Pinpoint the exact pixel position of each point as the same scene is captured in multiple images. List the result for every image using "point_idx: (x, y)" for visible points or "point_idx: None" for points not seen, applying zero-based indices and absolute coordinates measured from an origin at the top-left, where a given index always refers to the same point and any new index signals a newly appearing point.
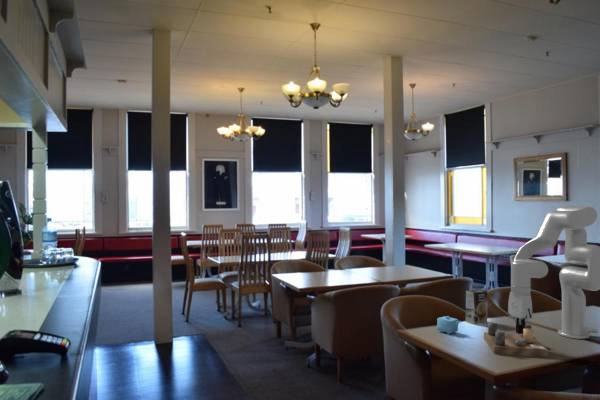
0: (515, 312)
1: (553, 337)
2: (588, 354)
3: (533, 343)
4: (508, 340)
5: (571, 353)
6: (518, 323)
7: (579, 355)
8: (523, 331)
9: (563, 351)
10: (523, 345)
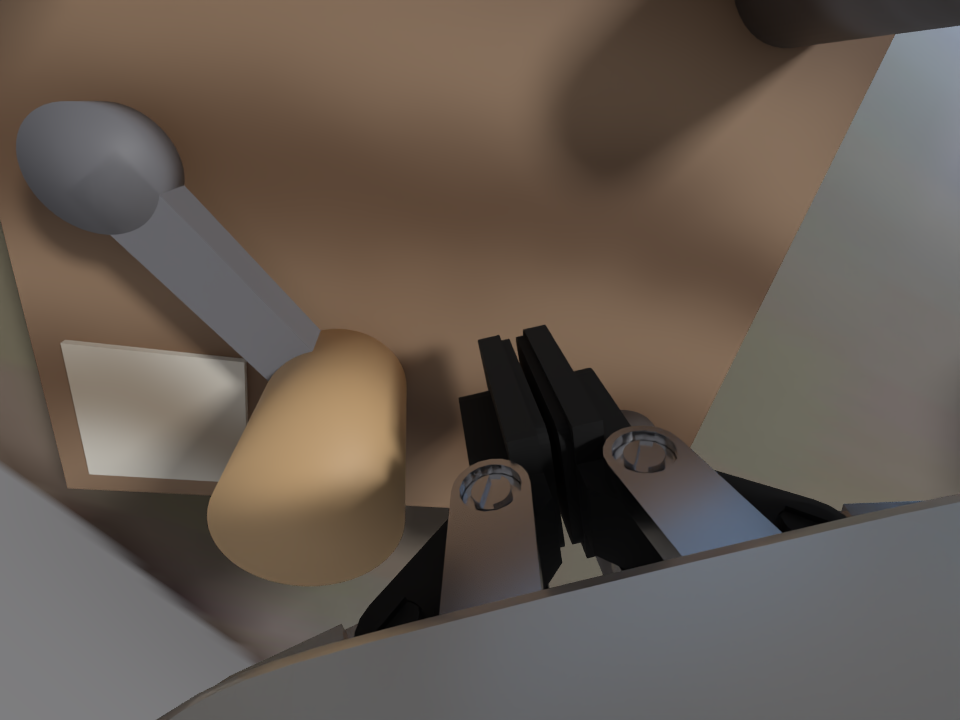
0: None
1: None
2: None
3: None
4: (440, 116)
5: (314, 622)
6: (578, 473)
7: (272, 650)
8: (328, 416)
9: (359, 593)
10: None
